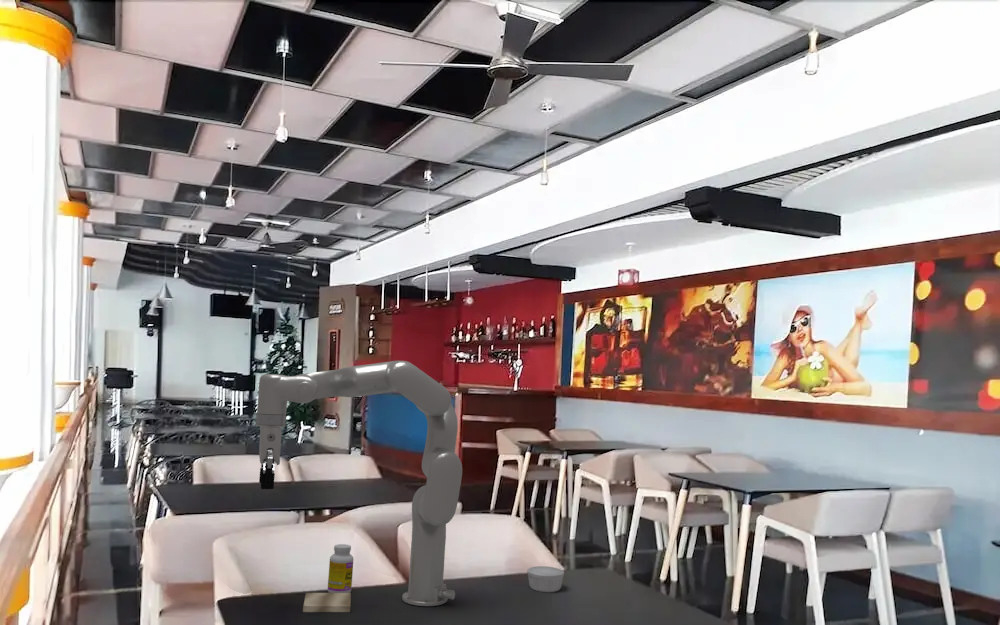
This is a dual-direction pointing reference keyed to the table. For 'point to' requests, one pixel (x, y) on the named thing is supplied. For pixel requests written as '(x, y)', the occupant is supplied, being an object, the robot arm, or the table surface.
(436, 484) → the robot arm
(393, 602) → the table surface
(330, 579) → the supplement bottle
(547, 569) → the ramekin
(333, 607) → the birch board
